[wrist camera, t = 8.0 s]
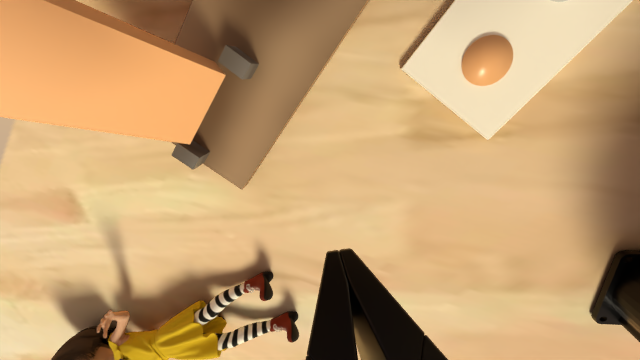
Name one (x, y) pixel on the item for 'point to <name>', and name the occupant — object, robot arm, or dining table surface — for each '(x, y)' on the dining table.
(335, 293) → the robot arm
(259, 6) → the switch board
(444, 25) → the card
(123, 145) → the dining table surface
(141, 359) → the figurine
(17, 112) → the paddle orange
